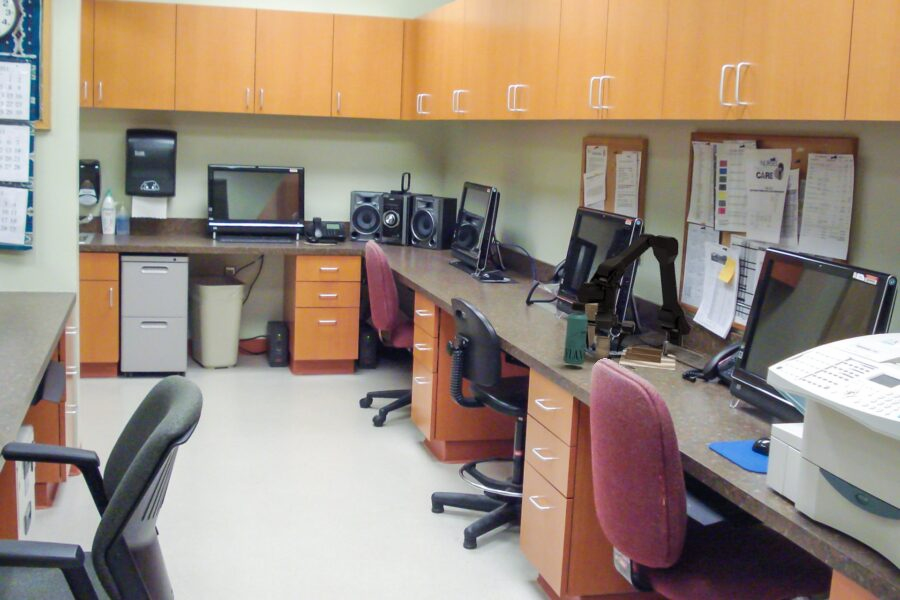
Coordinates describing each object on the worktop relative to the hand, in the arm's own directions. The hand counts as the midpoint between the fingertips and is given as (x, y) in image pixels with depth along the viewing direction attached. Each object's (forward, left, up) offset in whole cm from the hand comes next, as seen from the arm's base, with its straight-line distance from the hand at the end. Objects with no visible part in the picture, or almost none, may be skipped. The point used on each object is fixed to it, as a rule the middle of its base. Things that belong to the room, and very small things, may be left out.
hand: (602, 350), depth 313 cm
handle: (-14, -6, -2) cm, 15 cm away
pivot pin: (0, 0, -2) cm, 2 cm away
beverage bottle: (+18, -7, -2) cm, 19 cm away
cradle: (0, +15, -2) cm, 15 cm away
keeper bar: (-1, +25, -1) cm, 25 cm away
